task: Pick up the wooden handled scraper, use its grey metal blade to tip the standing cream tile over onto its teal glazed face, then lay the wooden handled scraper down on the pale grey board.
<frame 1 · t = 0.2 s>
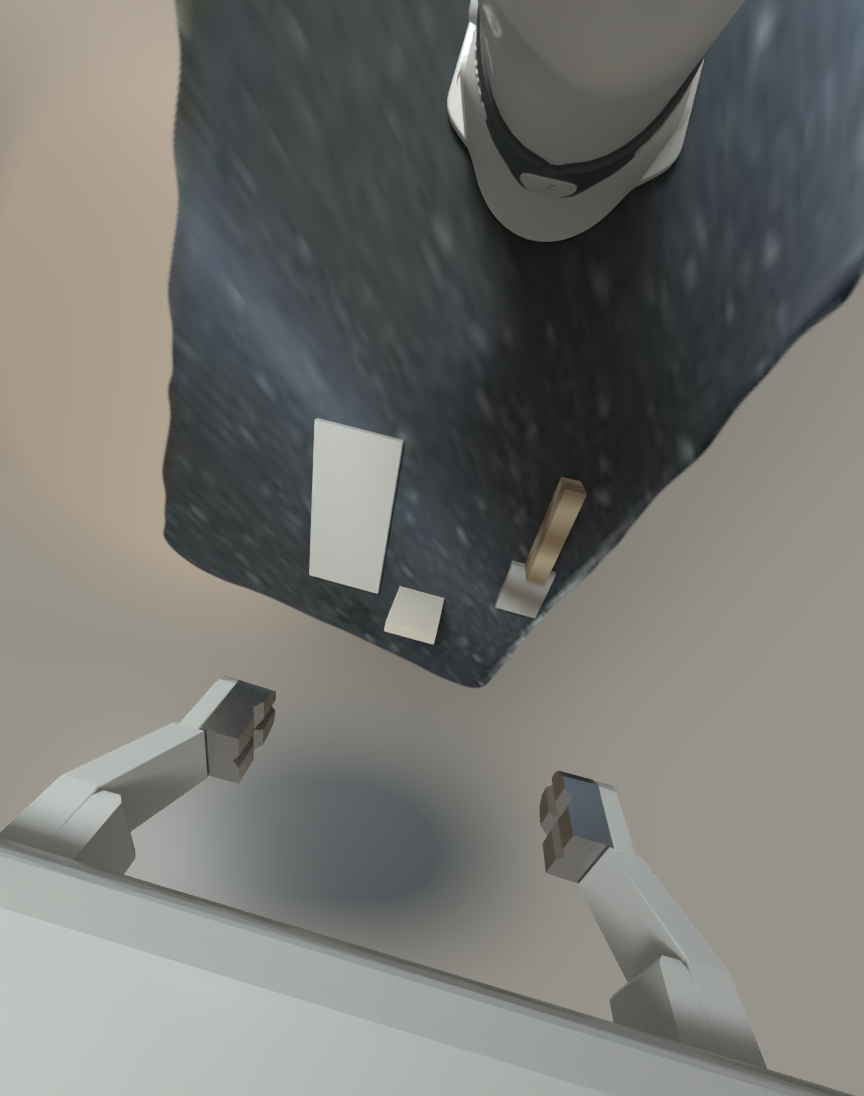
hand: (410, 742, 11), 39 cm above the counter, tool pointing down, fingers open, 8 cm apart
wooden handled scraper: (539, 550, 51), on the counter
tile: (420, 596, 58), on the counter
board: (352, 514, 53), on the counter
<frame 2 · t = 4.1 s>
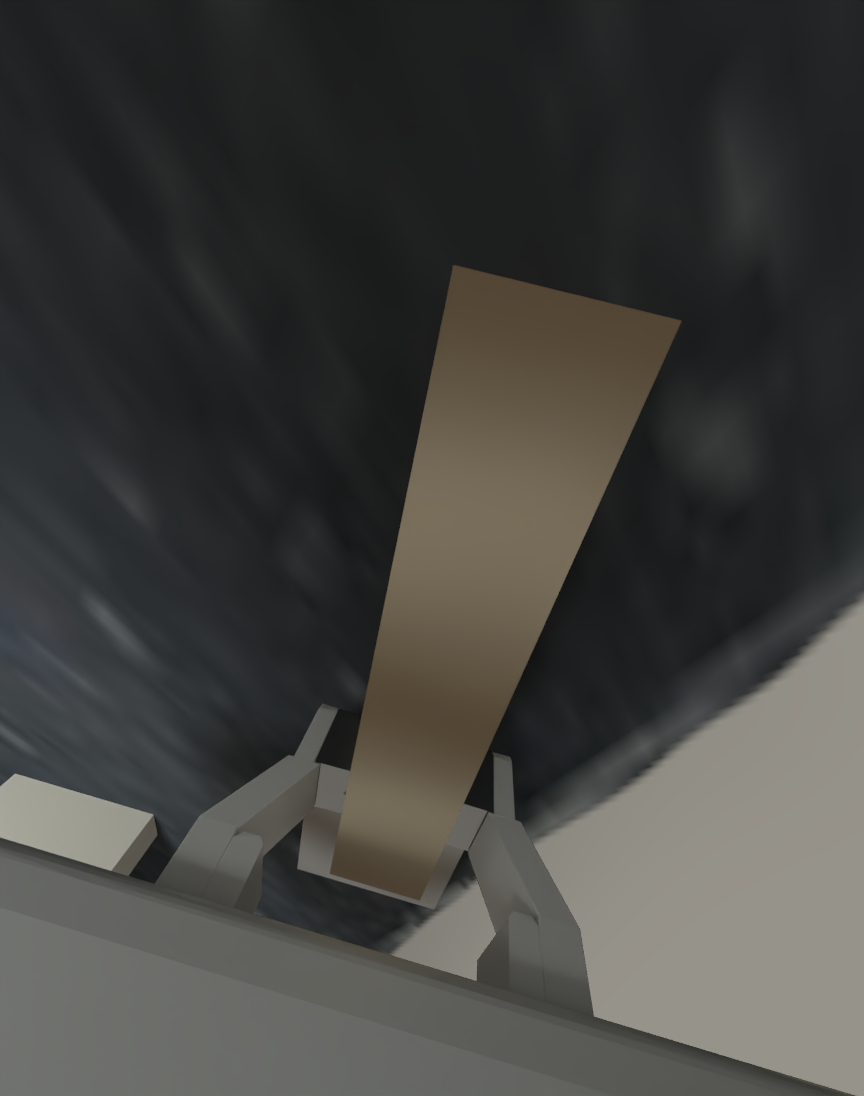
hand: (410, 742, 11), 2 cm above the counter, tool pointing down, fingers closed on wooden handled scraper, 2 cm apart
wooden handled scraper: (420, 697, 12), on the counter, touching gripper
tile: (87, 804, 18), on the counter
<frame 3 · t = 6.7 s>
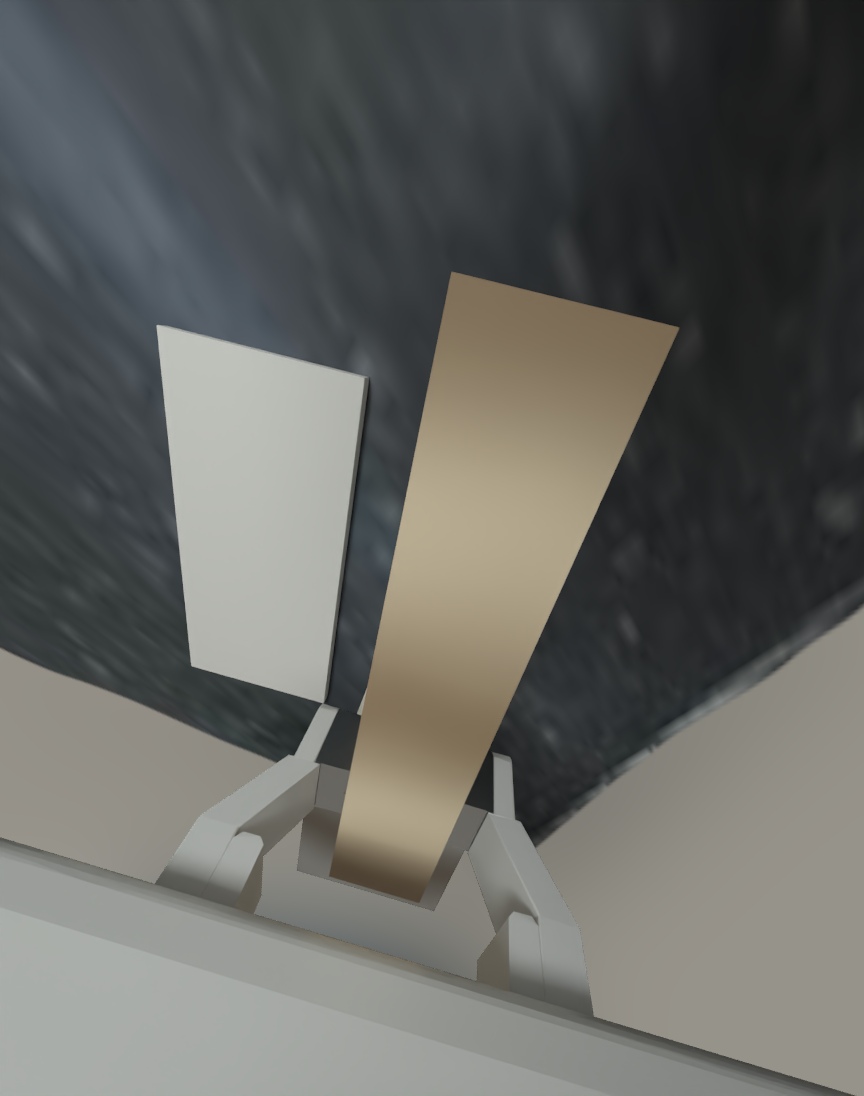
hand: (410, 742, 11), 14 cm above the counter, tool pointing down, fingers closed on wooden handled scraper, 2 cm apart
wooden handled scraper: (420, 699, 12), point 12 cm above the counter, touching gripper
board: (264, 549, 25), on the counter
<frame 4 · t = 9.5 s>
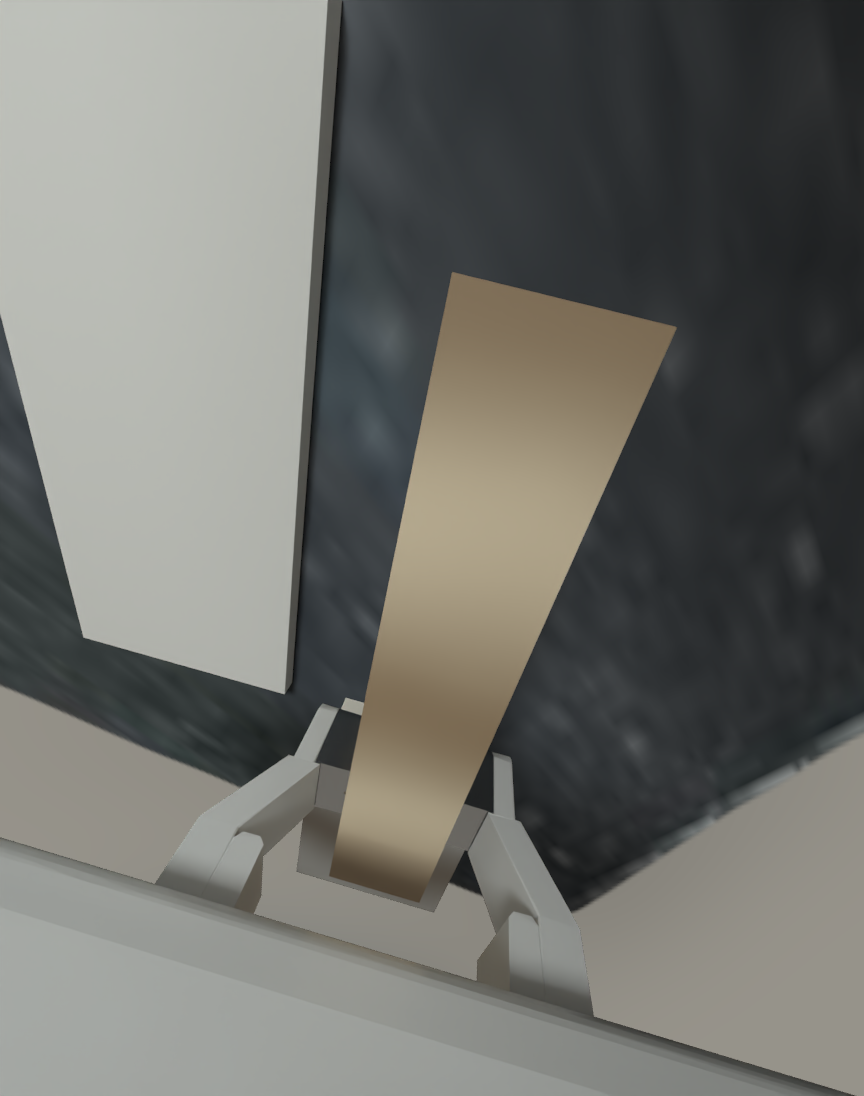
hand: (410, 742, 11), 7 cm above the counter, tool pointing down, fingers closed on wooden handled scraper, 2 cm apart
wooden handled scraper: (420, 699, 12), point 5 cm above the counter, touching gripper
board: (174, 430, 15), on the counter
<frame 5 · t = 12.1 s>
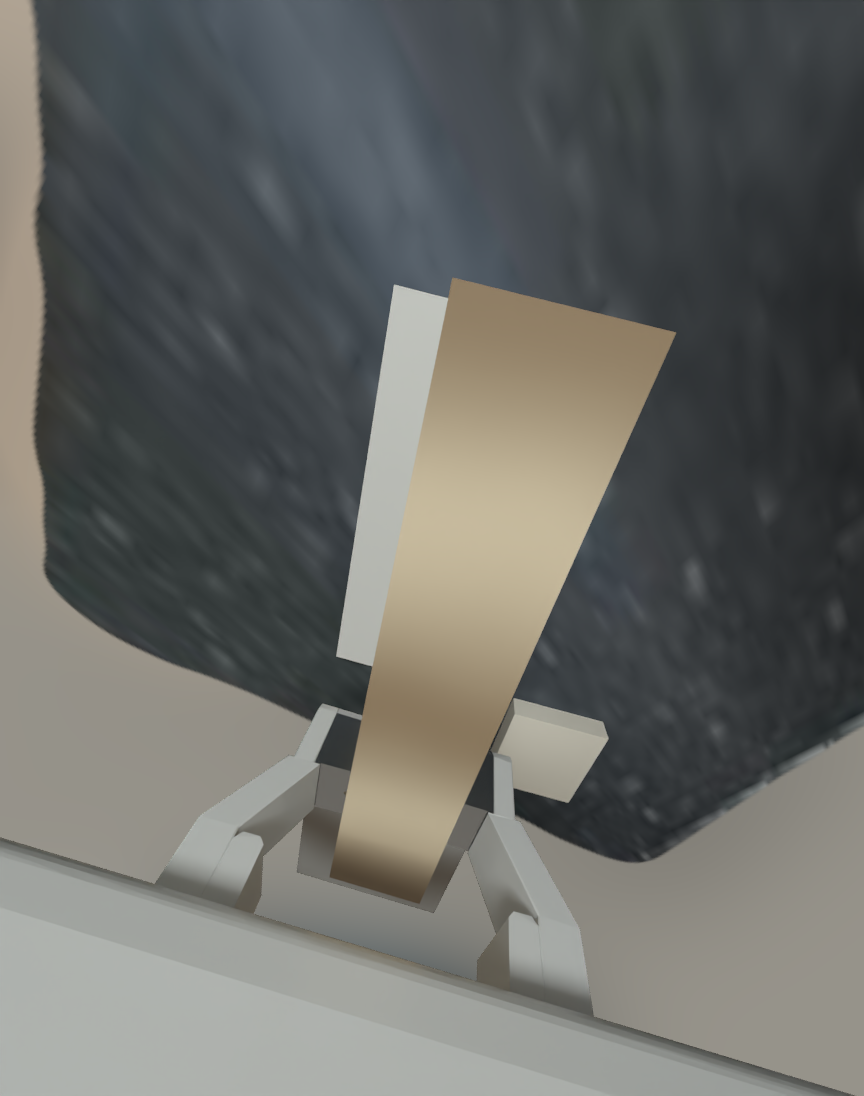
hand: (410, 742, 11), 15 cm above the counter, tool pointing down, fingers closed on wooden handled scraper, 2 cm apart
wooden handled scraper: (420, 700, 12), point 13 cm above the counter, touching gripper
tile: (559, 716, 29), point 1 cm above the counter, tilted 90°
board: (445, 530, 24), on the counter
when the fingers open (4 cm above the counter, at t = 14.6 s): wooden handled scraper drops 1 cm, resting on board.
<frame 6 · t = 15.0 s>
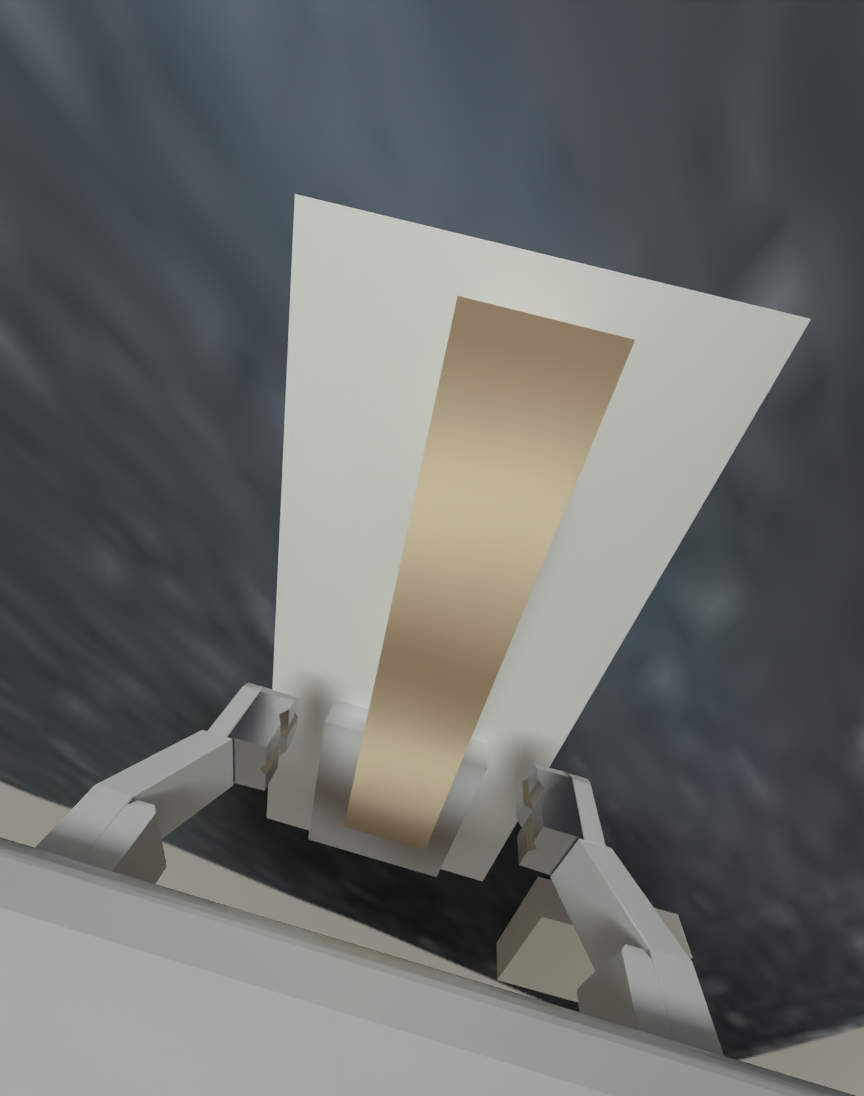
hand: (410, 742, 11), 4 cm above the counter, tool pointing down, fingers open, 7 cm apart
wooden handled scraper: (424, 673, 13), point 1 cm above the counter, touching board
tile: (611, 911, 18), point 1 cm above the counter, tilted 90°
board: (428, 656, 14), on the counter
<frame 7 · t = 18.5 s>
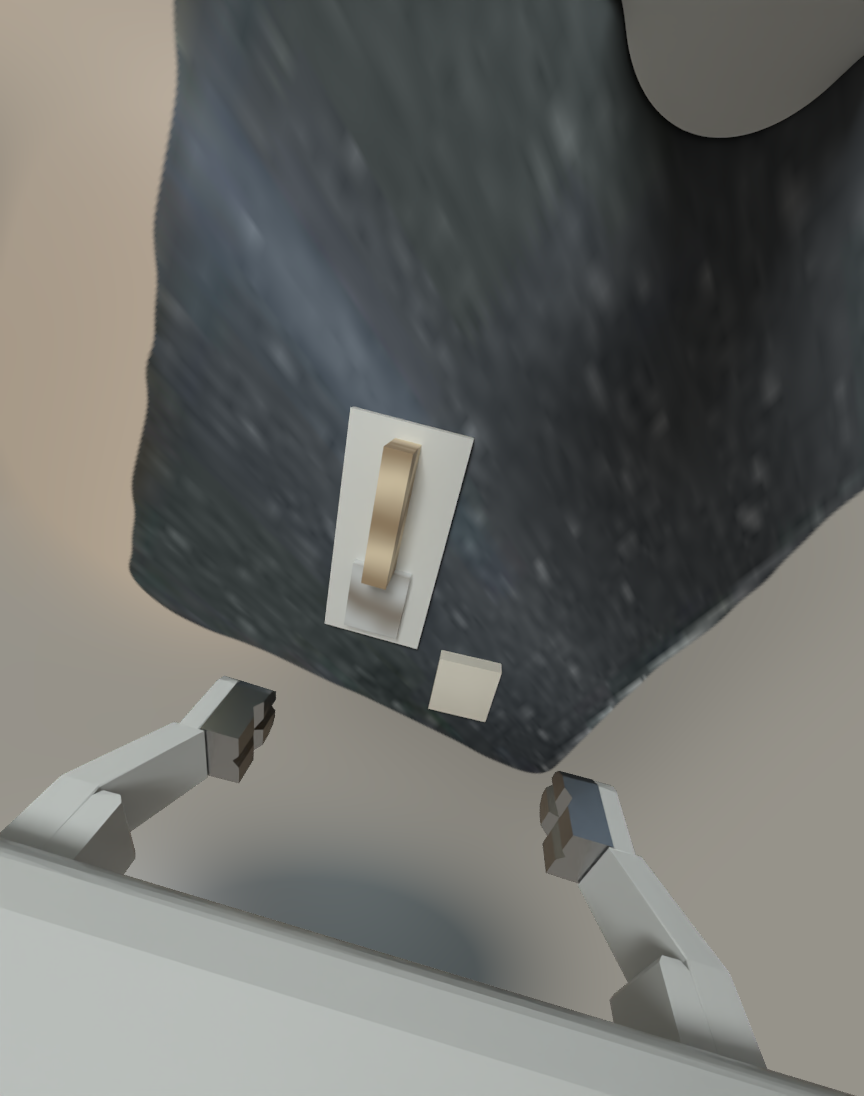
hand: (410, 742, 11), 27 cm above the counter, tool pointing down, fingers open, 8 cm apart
wooden handled scraper: (388, 545, 38), point 1 cm above the counter, touching board
tile: (471, 660, 43), point 1 cm above the counter, tilted 90°
board: (390, 541, 39), on the counter
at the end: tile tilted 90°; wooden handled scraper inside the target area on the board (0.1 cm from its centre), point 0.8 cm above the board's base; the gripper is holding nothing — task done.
